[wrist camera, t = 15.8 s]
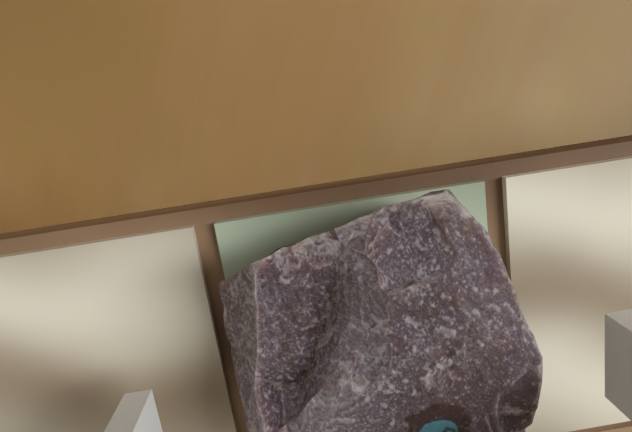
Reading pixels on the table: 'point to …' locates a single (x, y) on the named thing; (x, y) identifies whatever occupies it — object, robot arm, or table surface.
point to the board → (285, 229)
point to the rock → (384, 329)
